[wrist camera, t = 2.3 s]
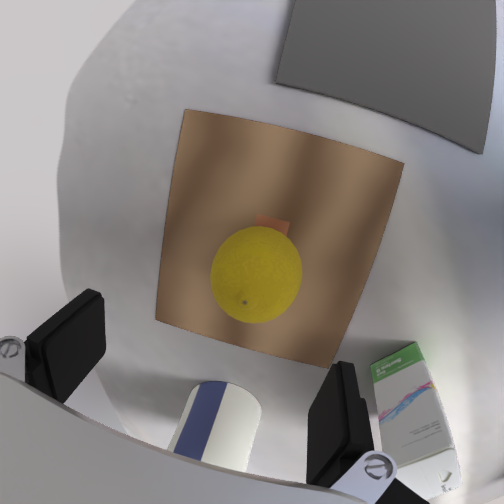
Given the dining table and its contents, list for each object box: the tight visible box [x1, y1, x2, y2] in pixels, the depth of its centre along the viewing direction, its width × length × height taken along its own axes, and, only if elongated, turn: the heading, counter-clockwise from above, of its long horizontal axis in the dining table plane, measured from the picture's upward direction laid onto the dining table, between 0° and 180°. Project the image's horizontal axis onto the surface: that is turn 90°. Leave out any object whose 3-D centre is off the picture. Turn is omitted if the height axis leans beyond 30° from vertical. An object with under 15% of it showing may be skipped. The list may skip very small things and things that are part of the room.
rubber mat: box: [275, 0, 496, 154], centre depth 15 cm, size 16×16×1 cm
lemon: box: [210, 226, 302, 323], centre depth 19 cm, size 6×6×8 cm
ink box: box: [370, 342, 462, 500], centre depth 20 cm, size 9×5×12 cm, turn 34°
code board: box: [156, 109, 404, 368], centre depth 23 cm, size 16×18×1 cm
